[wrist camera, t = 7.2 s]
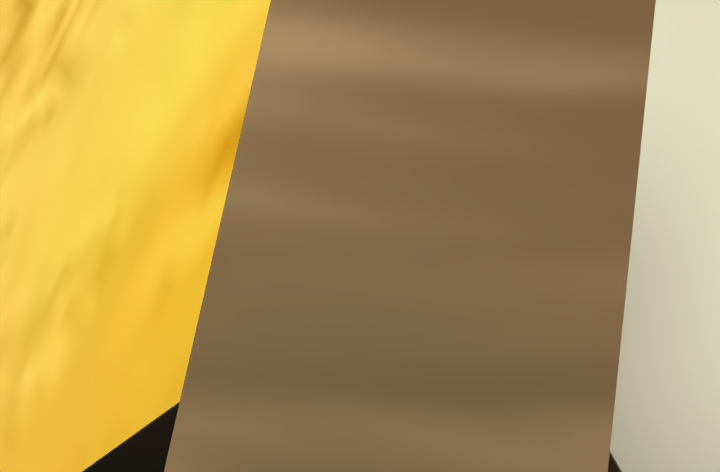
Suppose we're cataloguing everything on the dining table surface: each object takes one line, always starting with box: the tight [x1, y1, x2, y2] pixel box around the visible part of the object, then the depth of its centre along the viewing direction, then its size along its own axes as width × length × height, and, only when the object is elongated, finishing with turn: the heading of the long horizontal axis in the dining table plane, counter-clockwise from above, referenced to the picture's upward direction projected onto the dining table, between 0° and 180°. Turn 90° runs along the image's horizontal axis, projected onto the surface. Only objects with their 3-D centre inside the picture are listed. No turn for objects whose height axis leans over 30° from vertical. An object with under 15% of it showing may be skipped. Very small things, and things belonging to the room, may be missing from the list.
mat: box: [610, 0, 720, 472], centre depth 20 cm, size 24×18×1 cm
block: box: [164, 0, 656, 472], centre depth 9 cm, size 3×5×12 cm
